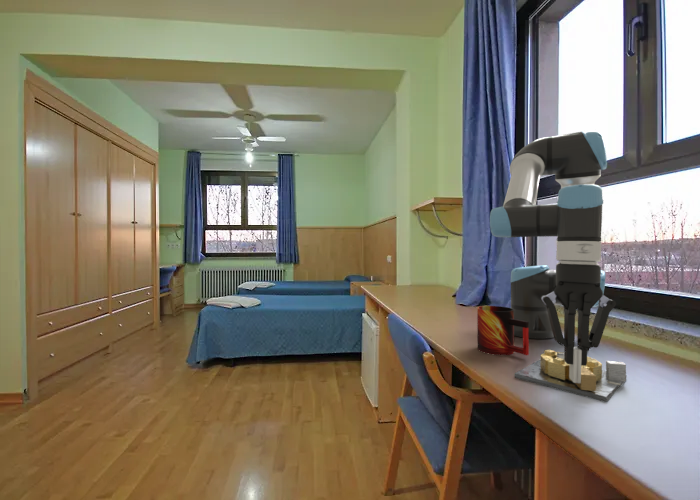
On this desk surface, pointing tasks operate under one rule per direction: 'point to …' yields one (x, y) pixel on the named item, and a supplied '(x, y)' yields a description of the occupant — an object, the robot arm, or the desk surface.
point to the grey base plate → (604, 387)
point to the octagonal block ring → (561, 369)
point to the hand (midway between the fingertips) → (574, 380)
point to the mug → (499, 331)
